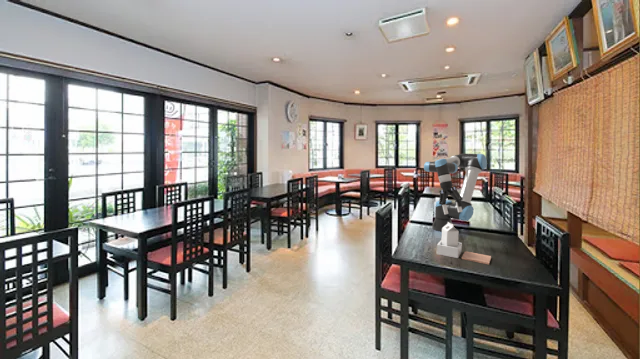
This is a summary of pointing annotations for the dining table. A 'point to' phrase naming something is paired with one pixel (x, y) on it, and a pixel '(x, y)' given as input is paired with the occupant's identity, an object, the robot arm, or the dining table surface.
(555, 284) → the dining table surface
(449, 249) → the white open box
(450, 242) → the milk carton
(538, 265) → the dining table surface
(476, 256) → the terracotta tile
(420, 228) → the dining table surface
